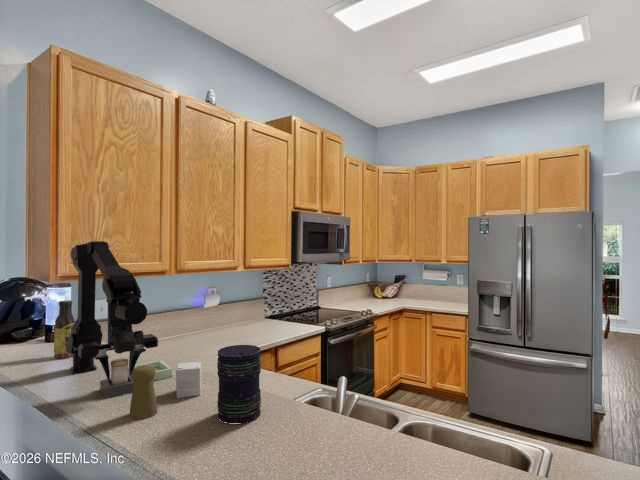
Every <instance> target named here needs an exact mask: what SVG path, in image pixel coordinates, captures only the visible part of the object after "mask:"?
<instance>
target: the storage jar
mask: <svg viewBox="0 0 640 480" xmlns="http://www.w3.org/2000/svg"><path fill="white" fill-rule="evenodd" d="M261 364H262V360H261V348H260V347H259V346H257V345H252V344H236V345H235V344H234V345H230V346H224V347H222V348H220V349H218V350H217V366H216V368H217V377H218V393H217V405H216V406H217V411H218V412H217V419H218V418H219V419H220V420H221V421H223V422H227V423H246V424H248V423H247V422H250V423H252V422H255V421H257V418H258V417H259V416H261V412H262V411H261V407H262V406H261V405H262V397H261V395H262V394H261V388H260V374H261V369H262V368H261ZM259 418H260V417H259ZM259 418H258V419H259ZM219 419H218V420H219ZM251 421H252V422H251Z"/></svg>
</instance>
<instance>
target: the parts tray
mask: <svg viewBox="0 0 640 480" xmlns="http://www.w3.org/2000/svg"><path fill="white" fill-rule="evenodd" d="M143 365H150V366H153V367H154V369H155V377H154V379H153V382H156V381H160V380H165V379H169V378H172V377H173V368H172V367H171V366H170V365H168V364H166V363H165V361H163V360H161V359H160V360H156V361H150V362H145V363H144V362H143V363H139V364H135V367H134V368H136V367H139V366H143ZM128 375H129V365H128Z"/></svg>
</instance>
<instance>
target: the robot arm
mask: <svg viewBox="0 0 640 480" xmlns="http://www.w3.org/2000/svg"><path fill="white" fill-rule="evenodd" d="M70 257H71V260H72V266H73V267H74V268H75V270H76V271H77V272H78V281H77V283H78V284H77V285H78V286H77V289H78V290H77V318H76V319H75V323H74V324H73V326H72V327H71V334H70V335H69V338H68V340H67V343H66V352H68V353H70V354H73V356H72V366H71V367H70V369H69V370H70V371H71V373H72V374H79V373H83V372H84V373H85V372H89V371H95V370H97V369H98V367H97V366H96V364H95V361H97V360H98V361H99V362H100V364H101V367H102V370H103V372H104V374H105V376H106V379H108V380H110V378H111V374H110V373H111V372H110V365H109V355H108V354H107V352H108V351H114V353H116V354H123V353H127V352H129V359H128V366H129V375H131V373H132V371H133V369H134V367H135V365H137V362H138V360H139V357H140V356H141V354H142V353H145V352H146V351H147V349H152V348H157V347H159V339H158V337H157V336H155V335H154V334H152V333H148V334H144V330H136V331H133V326H132V325H140V324H141V323H142V322H144V321H145V320H146V318H147V316H148V309H147V307H146V305H145V304H144V303H142V302H140V301H141V298H142V295H141V293H142V291H141V288H140V286H139V284H138V282H137V279H136V277H135V275H134V274H133V273H132V272H130V270H129V269H126V268H124V267H122V266H120V263H118V261H117V260H116V259H117V258H115V256H114V255H113V253H112V251H111V249H110V246H109V243H108V242H107V241H104V240H103V241H102V240H100V241H98V240H97V241H95V240H93V241H92V240H91V241H88V242H87V243H83V244H76V245H75V246H74V247H73V248H71V250H70ZM98 270H99V271H100V273H101V275H102V276H103V278H102V283H101V288H102V291H103V292H104V295H105V297H106V299H105V301H106V303H107V343H104V344H102V342H103V331H102V326H101V324H100V323H98V320H97V319H96V318H95V317H96V287H97V286H96V285H97V284H96V283H97V282H96V280H97V276H96V275H97V272H98Z"/></svg>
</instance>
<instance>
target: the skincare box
mask: <svg viewBox="0 0 640 480" xmlns="http://www.w3.org/2000/svg"><path fill="white" fill-rule="evenodd" d="M202 378H203V377H202V361H192V362H181V363H180V362H179V363H178V365H177V368H176V370H175V381H176V382H175V384H176V385H175V386H176V398H177V399H179V398H188V397H189V398H190V397H196V396H197V397H198V396H201V393H202V386H203V385H202V384H203V383H202Z"/></svg>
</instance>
